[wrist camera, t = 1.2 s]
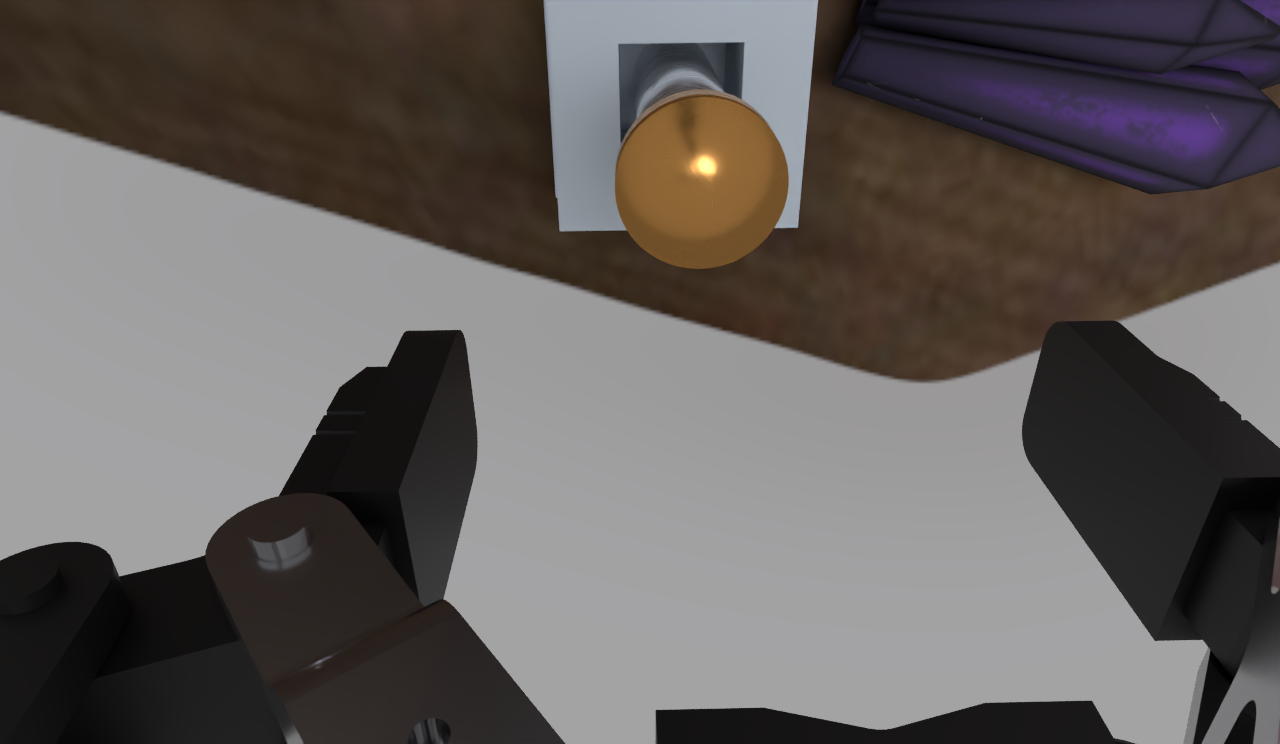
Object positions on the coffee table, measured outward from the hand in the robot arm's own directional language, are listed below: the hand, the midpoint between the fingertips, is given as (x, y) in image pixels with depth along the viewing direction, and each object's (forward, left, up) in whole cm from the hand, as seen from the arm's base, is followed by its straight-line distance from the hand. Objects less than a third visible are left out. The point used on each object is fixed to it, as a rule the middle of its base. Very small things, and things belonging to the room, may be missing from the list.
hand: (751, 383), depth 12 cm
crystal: (-2, +16, -23) cm, 28 cm away
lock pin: (0, 0, -22) cm, 22 cm away
